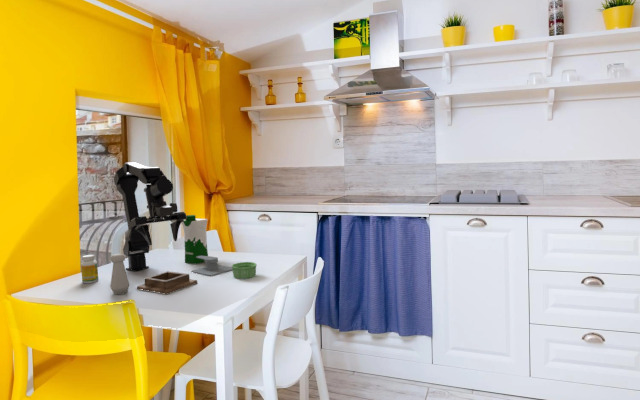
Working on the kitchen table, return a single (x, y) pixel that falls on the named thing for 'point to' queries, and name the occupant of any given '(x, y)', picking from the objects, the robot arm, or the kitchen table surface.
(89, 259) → the supplement bottle
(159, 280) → the collar socket
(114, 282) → the salt shaker
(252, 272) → the ramekin
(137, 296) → the kitchen table surface
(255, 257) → the kitchen table surface
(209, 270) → the shower valve
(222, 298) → the kitchen table surface
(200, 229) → the milk carton
